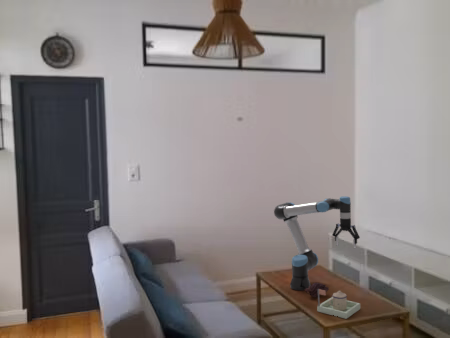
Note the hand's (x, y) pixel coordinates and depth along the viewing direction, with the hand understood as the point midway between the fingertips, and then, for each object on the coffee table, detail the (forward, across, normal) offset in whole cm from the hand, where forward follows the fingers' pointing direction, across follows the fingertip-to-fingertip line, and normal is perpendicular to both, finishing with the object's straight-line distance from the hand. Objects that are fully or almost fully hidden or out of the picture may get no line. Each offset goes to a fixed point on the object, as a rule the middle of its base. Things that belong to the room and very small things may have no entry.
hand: (345, 246), depth 318 cm
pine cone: (+32, +10, +25) cm, 42 cm away
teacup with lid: (+31, -12, +38) cm, 51 cm away
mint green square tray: (+32, -13, +38) cm, 51 cm away
